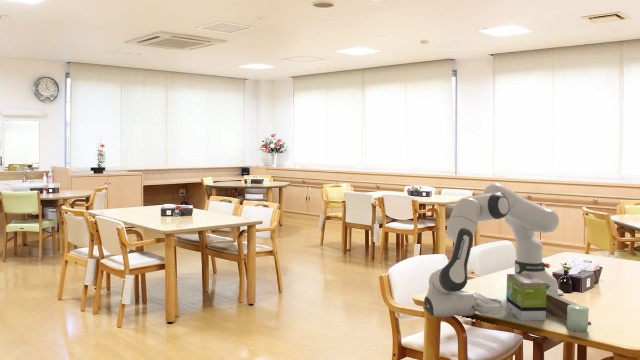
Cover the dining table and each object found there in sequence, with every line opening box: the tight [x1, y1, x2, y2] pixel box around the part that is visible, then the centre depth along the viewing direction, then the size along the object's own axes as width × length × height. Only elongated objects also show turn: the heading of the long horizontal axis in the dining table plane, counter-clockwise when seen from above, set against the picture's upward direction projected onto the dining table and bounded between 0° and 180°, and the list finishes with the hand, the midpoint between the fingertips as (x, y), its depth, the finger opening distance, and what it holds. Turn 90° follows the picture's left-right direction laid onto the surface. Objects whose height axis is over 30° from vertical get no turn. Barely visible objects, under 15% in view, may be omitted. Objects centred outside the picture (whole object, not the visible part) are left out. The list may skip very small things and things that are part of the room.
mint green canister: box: [566, 304, 590, 333], centre depth 211 cm, size 7×7×8 cm
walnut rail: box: [546, 291, 592, 325], centre depth 228 cm, size 7×24×7 cm, turn 13°
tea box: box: [505, 273, 547, 321], centre depth 227 cm, size 15×10×15 cm, turn 5°
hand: (499, 301), depth 225 cm, fingers closed
